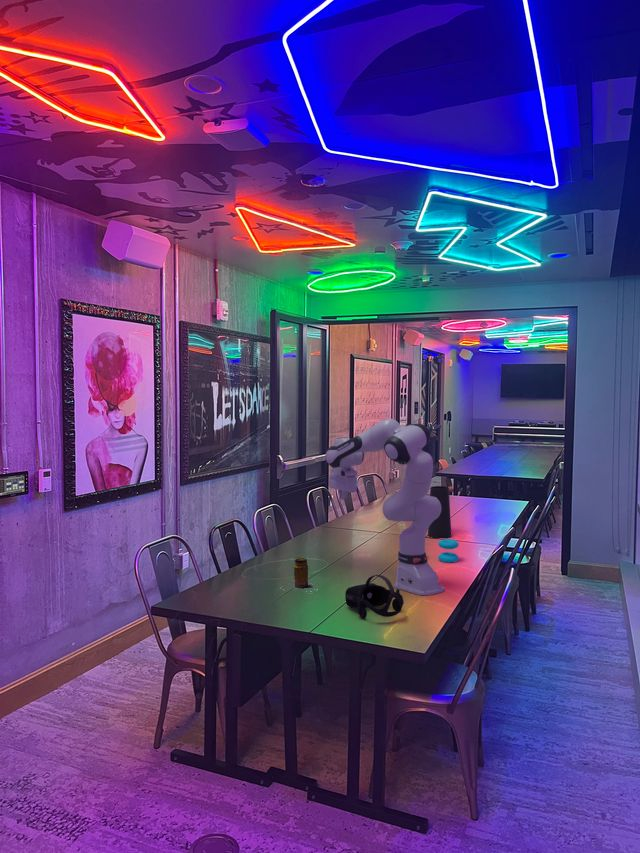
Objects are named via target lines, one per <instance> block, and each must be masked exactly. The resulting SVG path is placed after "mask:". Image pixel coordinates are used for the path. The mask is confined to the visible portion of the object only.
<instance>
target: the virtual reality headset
mask: <svg viewBox="0 0 640 853" xmlns="http://www.w3.org/2000/svg"><path fill="white" fill-rule="evenodd" d="M374 577H378V578H380V579H382V580H383V581H384V583H385V584H386V585H387V586H388V589H387V588H386V587H385V586H382V585H379V584H378V585H377V584H376V583H375V582H373V583H372V582H371V581H372V579H374ZM370 582H371V583H370ZM344 595H345V604H346V605H347V607H351V608H355V609H356V608H357V612H358V615H359V617H360V619H362V620H364V619H367V616H368V614H367V612H368V611H367V608H369V609H370V610H371V611H372V612H373V613H374V614H376V615H379V616H380V617H385V618H390V617H395V616H397V615H399V613H401V611H402V609H403V606H404V603H405V602H404V601H405V600H404V596H403V595H402V594H401V592H400V589H398V588H395V587H394V586H393V584H392V582H391V581H390V579H388V578H387V577H386V576H384V575H381V574H375V575H371V576H369V577H368V578H367V579H366V582H365V583H364V584H357V585H354V586H351V587H350V586H349V587H347V589H346V590H345V593H344ZM382 606H383V607H382ZM390 606H392V609H393V610H394V611H389V609H390ZM377 607H381V608H377Z"/></svg>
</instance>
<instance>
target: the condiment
mask: <svg viewBox="0 0 640 853" xmlns="http://www.w3.org/2000/svg"><path fill="white" fill-rule="evenodd" d="M293 567H294V568H293V573H294V574H293V575H294V576H293V577H294V584H293V586H294V585H295V587H296V588H295V587H294V588H295V589H304V588H314V587H313V584H312V583H308V574H309V566H308V559H307V558H305V557H298V558H295V559H294V566H293ZM308 584H309V585H308Z"/></svg>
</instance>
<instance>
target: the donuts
mask: <svg viewBox="0 0 640 853" xmlns="http://www.w3.org/2000/svg"><path fill="white" fill-rule="evenodd" d="M437 543H438V544H437V545H438V547H440V548H441V549H443V550H455V549H457V548H458V547H459V544H460V543H459V541H457V540H455V539H450V538H447V539H439V541H438V542H437ZM437 557H438V561H440V562H442V563H447V562H448V563H449V564H451V563H452V562H453V563H456V562H458V561H459V559H460V557H459V555H458V554H457V553H455V552H451V551H450V552H449V551H445V552H441V553H439V554H438V556H437ZM453 563H452V564H453Z"/></svg>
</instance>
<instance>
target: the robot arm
mask: <svg viewBox="0 0 640 853" xmlns="http://www.w3.org/2000/svg"><path fill="white" fill-rule="evenodd" d="M431 439H432V436H431V432H430V429H429V428H428V427H427V426H426V425H424V424H422V423H406V424H405V425H404V426H402V425H401V424H400V423H399V422H398V420H396V419H394V418H386V419H384V420H381V421H379V422H377V423H375V424H374V425H373V426H371V427H369V428H368V429H366V430H365V431H363V432H361V433H360V434H357V435H356V436H354V437H352V438H349V437H348V436H347V437H346V436H345V437H338V438H337V437H336V438H334V441H333V445H331V446H330V447H328V449H327V450H326V452H325V461H326V463H327V464H328V466H330V467H331V468H332V470H331V471H330V473H329V477H328V486H329V488H330V489H335V490H337V492H338V497H339V498H338V499H339V500H341V501H345V500H346V498H347V497H346V496H347V495H348V493H356V492H357V490H358V479H357V476H358V471H357V470H356V469H354V468H353V467H354V466H361V464H362V463H363V461H364V460H365V453H373V452H379V451H382V450H384V452H385V455H386V457H388V459H390V460H392V461H393V462H395V463H398V464H399V465H406V468H405V473H404V479H403V482H402V485H401V487H400V488H399V489H398V490H397V491H396V492H395V493H394V494H393V495H391V496H389V497H387V498H386V499H384V502H383V504H382V509H381V510H382V514H383V516H384V517H385V518H386V520H388V521H393V522H411V524H410V525H409V526H408V527H406V528H405V529H404V530H402V531H401V532H400V533H399V538H398V539H399V540H398V542H399V544H398V546H399V551H398V555H397V558H398V559H397V560H398V565H397V567H396V576H395V578H396V579H395V583H394V584H393V585H394V586H393V588H394V589H399V590H402V591H405V592H409V593H411V594H415V595H418V596H431V595H436V594H440V593H442V592H444V591H445V587H444V586H442V585H440V584H439V583H440V582H439V576H438V574H437V572H436V571H435V570H434V569H433V568H432V566H431V565H430V564H429V562H428V560H429V556H427V553H426V536H427V533H428V528H429V526H430V525H431V523H432V522H433V521H434V520H435V519H437V518H438V517H439V515H440V513H441V504H440V501H439V500H438V499H437V498H436V497H432V496H430V495H427V494H428V493H429V492H430V488H431V484H432V483H431V482H432V479H433V478H432V477H433V472H434V460H433V459H434V458H433V457H432V455H431V454H430V453H428V452H426V451H424V450H422V449H423V448H426V446H428V445H429V443H430V442H431Z"/></svg>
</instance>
